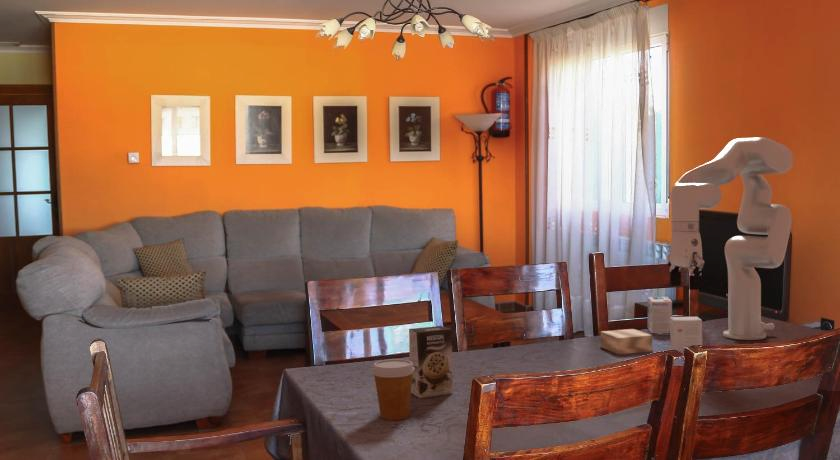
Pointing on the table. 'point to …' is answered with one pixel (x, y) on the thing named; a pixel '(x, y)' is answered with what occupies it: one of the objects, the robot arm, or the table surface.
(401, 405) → the disposable coffee cup
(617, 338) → the oak block
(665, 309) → the light bulb box
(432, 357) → the cookie box
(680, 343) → the small box
